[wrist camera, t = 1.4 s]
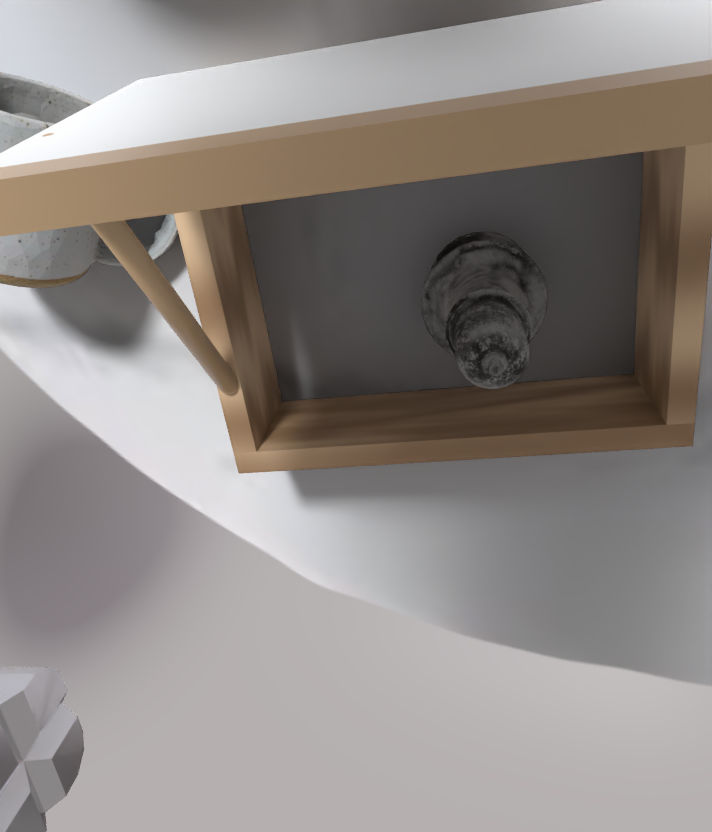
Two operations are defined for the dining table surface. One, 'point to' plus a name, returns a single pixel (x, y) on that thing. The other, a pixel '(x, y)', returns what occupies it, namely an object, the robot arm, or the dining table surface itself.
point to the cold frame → (473, 406)
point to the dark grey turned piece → (485, 307)
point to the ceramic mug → (59, 248)
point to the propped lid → (364, 124)
